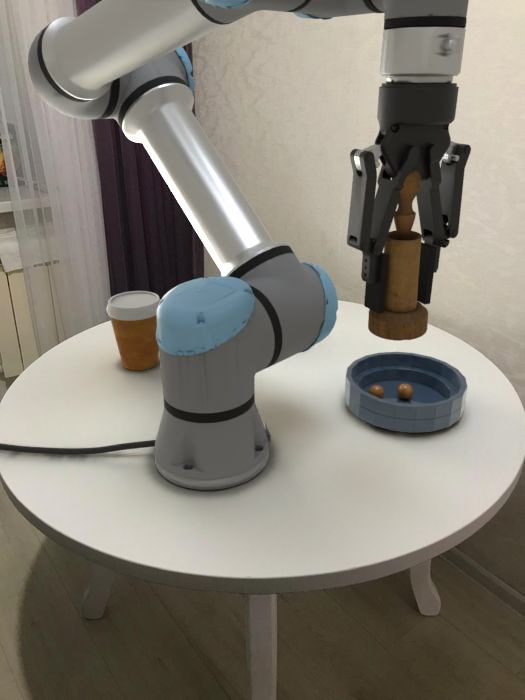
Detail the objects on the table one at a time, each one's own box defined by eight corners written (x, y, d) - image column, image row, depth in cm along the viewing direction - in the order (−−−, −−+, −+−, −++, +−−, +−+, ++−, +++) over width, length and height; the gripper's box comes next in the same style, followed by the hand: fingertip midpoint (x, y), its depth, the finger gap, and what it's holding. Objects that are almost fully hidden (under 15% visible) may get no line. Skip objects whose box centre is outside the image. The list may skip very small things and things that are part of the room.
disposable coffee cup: (103, 362, 105) (94, 298, 100) (149, 346, 111) (143, 286, 106) (130, 380, 99) (122, 313, 94) (178, 363, 104) (173, 299, 99)
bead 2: (414, 385, 91) (399, 386, 92) (410, 380, 89) (395, 382, 91) (414, 400, 91) (399, 401, 92) (411, 396, 89) (395, 397, 90)
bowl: (388, 449, 80) (391, 417, 78) (324, 392, 95) (325, 364, 92) (488, 420, 87) (493, 390, 84) (413, 370, 101) (416, 344, 99)
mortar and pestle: (413, 314, 71) (425, 160, 63) (436, 337, 65) (453, 172, 57) (360, 320, 70) (365, 165, 62) (379, 344, 65) (387, 178, 56)
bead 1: (367, 391, 92) (366, 400, 90) (371, 379, 91) (371, 388, 89) (381, 396, 92) (381, 405, 90) (386, 384, 91) (386, 393, 89)
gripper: (359, 81, 50) (345, 330, 60) (520, 79, 57) (483, 302, 67) (315, 80, 56) (309, 307, 66) (466, 79, 64) (439, 283, 73)
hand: (397, 304), depth 67 cm, fingers closed on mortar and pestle, 6 cm apart
